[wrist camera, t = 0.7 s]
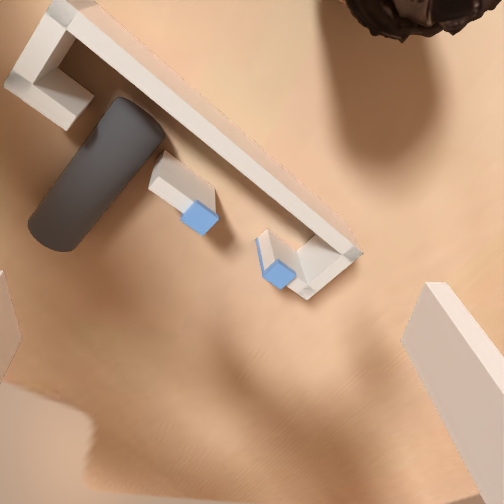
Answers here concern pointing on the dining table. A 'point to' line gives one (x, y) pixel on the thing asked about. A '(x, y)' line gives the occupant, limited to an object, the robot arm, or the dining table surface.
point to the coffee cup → (416, 16)
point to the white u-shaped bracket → (198, 122)
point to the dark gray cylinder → (95, 175)
